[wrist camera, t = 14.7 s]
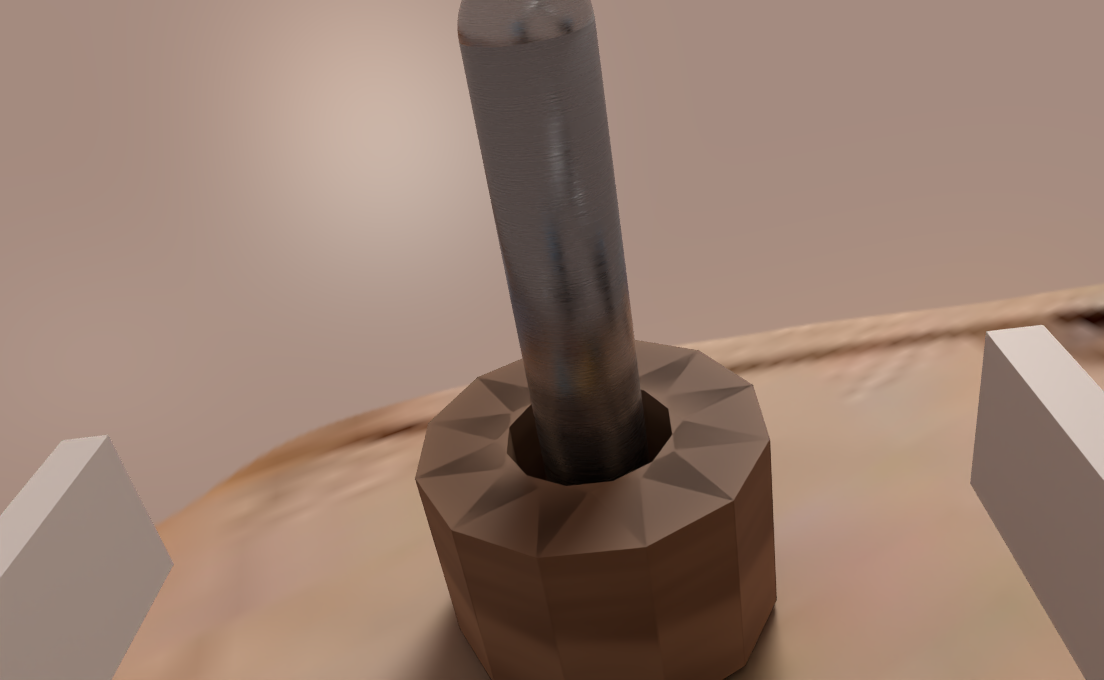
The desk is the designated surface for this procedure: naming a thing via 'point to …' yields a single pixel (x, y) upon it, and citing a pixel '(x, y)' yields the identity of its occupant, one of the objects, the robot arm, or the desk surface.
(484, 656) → the bead
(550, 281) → the round-tipped metal rod
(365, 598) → the desk surface
